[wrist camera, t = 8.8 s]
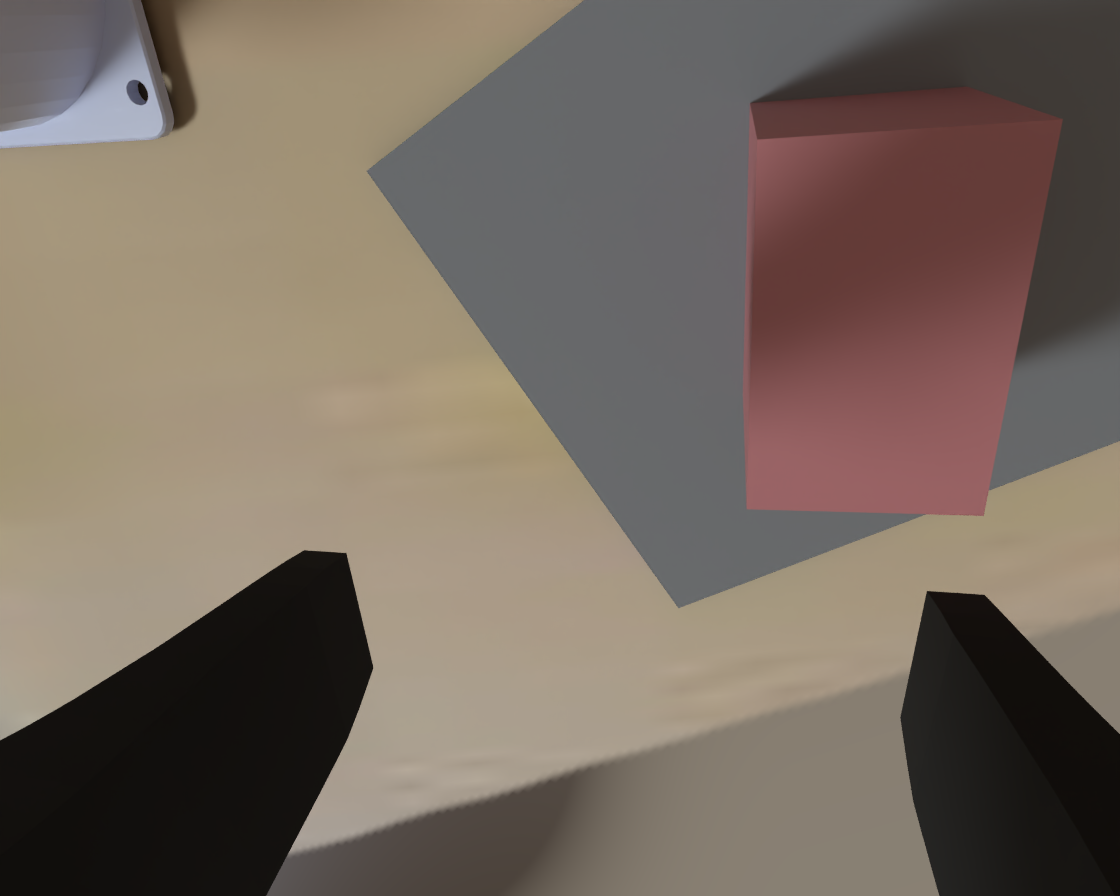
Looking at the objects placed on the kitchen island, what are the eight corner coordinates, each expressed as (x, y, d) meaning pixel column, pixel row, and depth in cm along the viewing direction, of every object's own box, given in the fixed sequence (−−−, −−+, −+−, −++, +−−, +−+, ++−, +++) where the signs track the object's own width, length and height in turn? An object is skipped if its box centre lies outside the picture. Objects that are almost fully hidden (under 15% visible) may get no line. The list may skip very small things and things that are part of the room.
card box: (742, 394, 19) (746, 509, 14) (749, 103, 16) (757, 139, 11) (923, 394, 18) (983, 515, 14) (967, 86, 15) (1062, 119, 11)
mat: (679, 599, 23) (678, 608, 22) (373, 167, 18) (366, 171, 18) (1366, 335, 16) (1380, 342, 16) (1148, -440, 12) (1161, -453, 11)
